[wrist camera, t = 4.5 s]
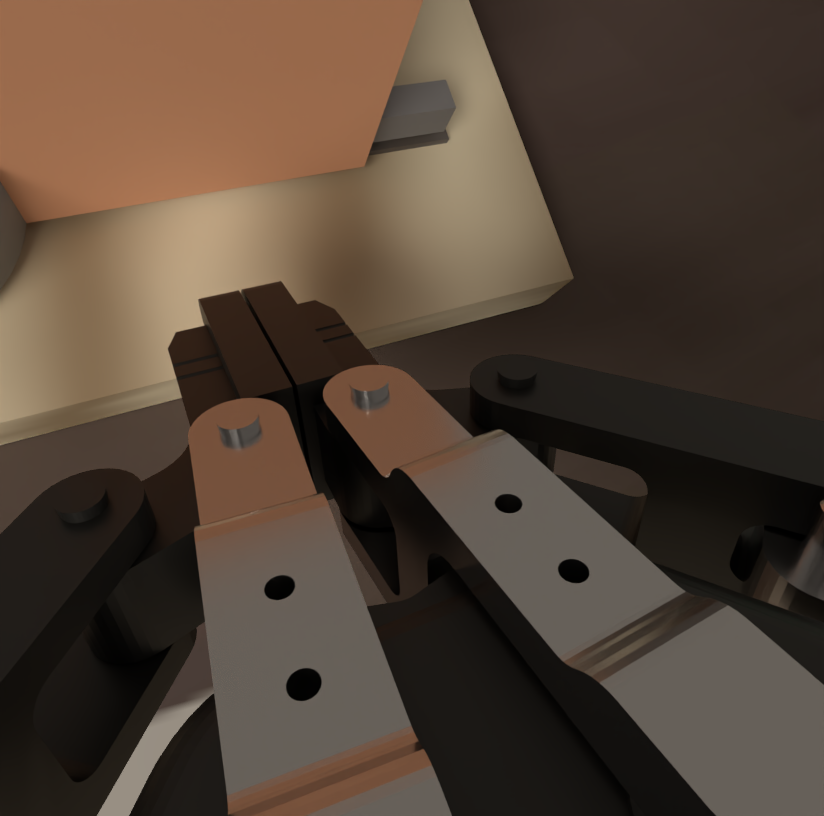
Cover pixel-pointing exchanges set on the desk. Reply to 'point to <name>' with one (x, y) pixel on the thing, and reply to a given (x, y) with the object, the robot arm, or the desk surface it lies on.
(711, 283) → the desk surface
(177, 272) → the level stand
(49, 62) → the orange grey panel fixture
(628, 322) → the desk surface
